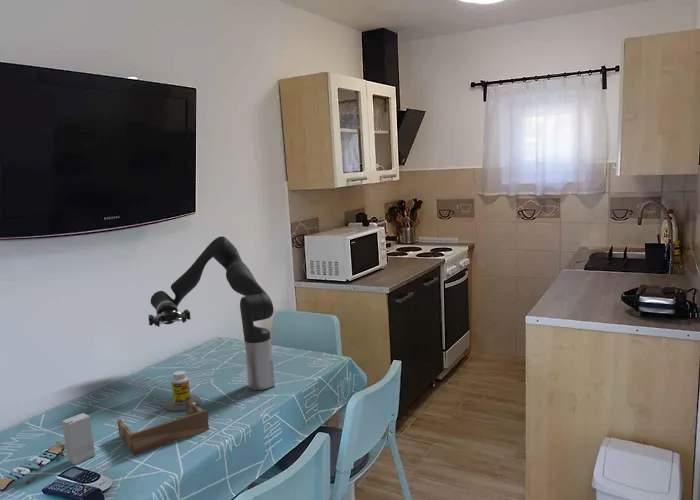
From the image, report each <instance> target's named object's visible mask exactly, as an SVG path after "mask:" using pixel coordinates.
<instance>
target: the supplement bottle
mask: <svg viewBox="0 0 700 500" xmlns="http://www.w3.org/2000/svg"><path fill="white" fill-rule="evenodd" d="M190 388H191V387H190V378H189V377H188V376H187V373H186V371H185V370H177V371H174V372H173V378H171V389H172V398H173V400H174V403H175V404H185V403H186V400H187V399H189V400H190V399H191V397H190V395H191V390H190Z"/></svg>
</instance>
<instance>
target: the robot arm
mask: <svg viewBox="0 0 700 500" xmlns="http://www.w3.org/2000/svg"><path fill="white" fill-rule="evenodd" d="M239 253H240V252H239V251H238V249H237V248H236V247H235V245H234V244H233V243H232V242H231V241H230V240H229V239H228V238H227V237H225V236H217V237H216V238H215V239H213V240H212V241H211V242H210V243H209V244H208V245H207V246H206V248H205V249H204V250H203V251H202V252H201V254H200V255H199V256H198V257H197V258H196V260H195V261H194V262H193V264H192V265H191V266H190V267H189V268H188V269H187V270H186V271H185V272H184V273H183V274H182V275H181V276H179V277H178V278H177V279H176V280H175V281H174V282H172V283H171V285H170V289H171V291H172V292H173V294H174V296H175V297H174V298H172V297H171V296H170V295H169V294H168V293H167V292H165V291H164V290H158V291H156V292H154V293H153V294H152V296H151V297H150V304H151V306H152V307H153V308H154V309H155V311H156V315H155V316H154V315H153V314H148V326H149V327H150V326H153V325H154V326H155V327H156V326H157V328H158V327H160V326H161V325H162V324H164V325H172V324H174V323H176V322H182V323H183V324H184V323H186V322H187V320H188V321H189V320H191V319H192V318H191V311H190V310H188V309H184V310H183V312H181V311H179V310H178V307H179V305H180V303H181V302H182V301H183V299H184V298H185V297H186V296H187V295H188V294H189V293H191V291H193V290H194V288H196V286H197V285H198V283H199V282H200V280H201V278H202V274H203V272H204V270H205V267H206V265H207V264H208V263H209V261H210V260H212V258H213V259H214V260H216V262H218V264H220V265H221V266H222V268H224V270H226V272H225V278H226V280H227V283H228V284H229V286H230V288H231V289H232V290H233V291H234V292H236V293H237V294H239V295H242V296H241V298H240V302H239V309H240V310H239V311H240V318H241V324H242V331H243V338H244V339H243V340H244V351H245V362H246V363H245V364H246V372H247V375H246V376H247V386H248V388H249V389H250V390H253V391H254V390H255V391H256V390H257V391H262V390H268V389H270V388H272V387H276V384H275V370H274V361H273V360H274V359H273V352H272V341H271V332H270V329H268V328H265V327H260V326H256V325H255V324H254V322H259V321H264V320H267V319H270V318H271V317H272V316H273V315H274V304H273V302H272V299H271V298H270V296H269V294H268V293H267V292H266V290H264V289H263V288H262V287H261V286H260V284H259V283H258V282H257V280H256V279H255V277H254V275H253V273H252V272H251V270H250V268H249V267H248V266H247V265H246V264H245V263H244V261H243V260H242V257H241V256H240V254H239Z"/></svg>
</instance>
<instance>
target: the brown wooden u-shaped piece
mask: <svg viewBox="0 0 700 500" xmlns="http://www.w3.org/2000/svg"><path fill="white" fill-rule="evenodd" d="M208 414H209V413H208V409H202V408H201V407H199V405H198V406H197V405H195V404H194V403H193V402H192V401H190V400H189V399H187V400H186V415H185V416H182V417H179V418H175V419H173V420H169V421H166V422H163V423H160V424H157V425H154V426H151V427H148V428H145V429H142V430H139V431H136V432H132V431H131V429H130V428H129V427H128V426H127V425H126V424H125V422H123V420H122V419H119V420H117V421H116V422H117V428H118V436H119V438H120V439H121V441H122V442H123V443H124V445H126V447H127V448H128V449H129V450H130V451H131V452H132V454H133V455H134V456H137V455H139V454H140V455H141V454H143V453H145V452H148V451H151V450H153V449H154V450H155V449H157V448H159V447H162V446H165V445H167V444H168V445H169V444H171V443H174V442H177V441H179V440H183V439H186V438H188V437H191V436H193V435H197V434H199V433H202V432H206V431H208V430H210V427H209V426H210V425H209V416H208Z"/></svg>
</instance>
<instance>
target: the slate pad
mask: <svg viewBox="0 0 700 500" xmlns="http://www.w3.org/2000/svg"><path fill="white" fill-rule="evenodd" d="M190 397H191V399H190V401H192V402H193V403H194V404H195V405H197V406H198V407H199V405H200V404H201V397H200V396H199V395H195V394H190ZM163 409H164V410H165V411H166V412H171V413H177V412H185V411H186V412H187V410H186V403H185V404H175V403H174V400H173V397H171V398H169V399H167V400H166V401H165V402H164V403H163Z"/></svg>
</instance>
